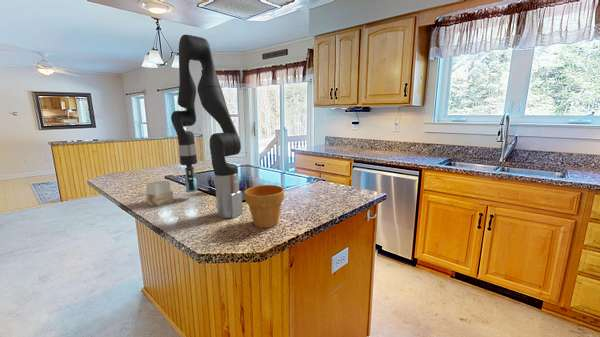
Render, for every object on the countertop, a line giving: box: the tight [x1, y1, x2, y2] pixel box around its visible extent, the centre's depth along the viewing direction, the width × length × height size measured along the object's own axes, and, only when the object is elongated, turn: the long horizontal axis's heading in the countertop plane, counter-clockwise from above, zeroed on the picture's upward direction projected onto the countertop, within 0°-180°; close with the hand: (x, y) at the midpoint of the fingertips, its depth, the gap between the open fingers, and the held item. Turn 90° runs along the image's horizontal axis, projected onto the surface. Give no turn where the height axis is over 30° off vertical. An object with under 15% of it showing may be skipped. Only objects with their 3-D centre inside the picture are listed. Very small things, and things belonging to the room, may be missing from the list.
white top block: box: [145, 179, 171, 196], centre depth 130 cm, size 7×7×5 cm
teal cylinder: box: [184, 177, 198, 193], centre depth 135 cm, size 5×5×6 cm
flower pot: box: [244, 184, 285, 229], centre depth 104 cm, size 14×14×13 cm
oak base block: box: [145, 190, 175, 208], centre depth 131 cm, size 8×8×5 cm
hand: (191, 188), depth 135 cm, fingers closed on teal cylinder, 5 cm apart
